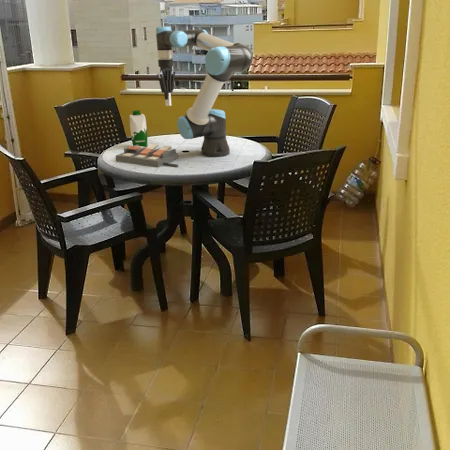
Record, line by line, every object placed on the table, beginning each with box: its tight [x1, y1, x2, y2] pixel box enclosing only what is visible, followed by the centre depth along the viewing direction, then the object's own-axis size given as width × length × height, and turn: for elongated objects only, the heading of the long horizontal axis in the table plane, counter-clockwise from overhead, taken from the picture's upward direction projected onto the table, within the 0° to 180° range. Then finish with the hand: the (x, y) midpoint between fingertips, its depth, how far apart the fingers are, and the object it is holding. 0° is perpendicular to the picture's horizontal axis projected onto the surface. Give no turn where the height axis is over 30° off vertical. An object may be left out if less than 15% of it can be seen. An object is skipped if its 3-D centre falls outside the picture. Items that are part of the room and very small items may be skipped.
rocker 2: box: [153, 145, 172, 157], centre depth 268 cm, size 4×10×1 cm, turn 149°
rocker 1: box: [127, 145, 144, 150], centre depth 276 cm, size 4×10×1 cm, turn 149°
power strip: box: [115, 145, 179, 168], centre depth 269 cm, size 36×17×5 cm, turn 59°
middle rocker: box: [140, 143, 159, 156], centre depth 272 cm, size 4×10×1 cm, turn 149°
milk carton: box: [129, 110, 148, 147], centre depth 294 cm, size 9×9×20 cm
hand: (168, 105), depth 279 cm, fingers closed
